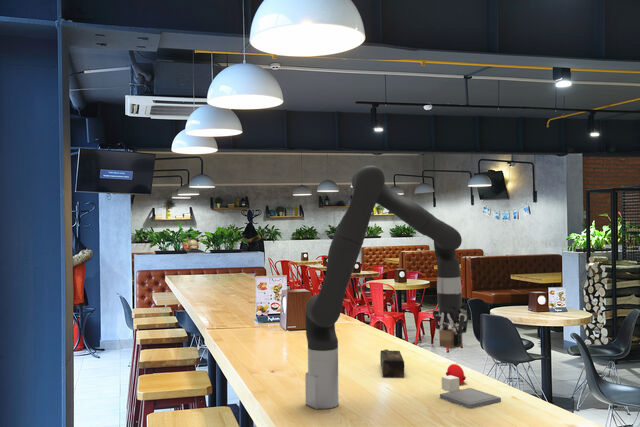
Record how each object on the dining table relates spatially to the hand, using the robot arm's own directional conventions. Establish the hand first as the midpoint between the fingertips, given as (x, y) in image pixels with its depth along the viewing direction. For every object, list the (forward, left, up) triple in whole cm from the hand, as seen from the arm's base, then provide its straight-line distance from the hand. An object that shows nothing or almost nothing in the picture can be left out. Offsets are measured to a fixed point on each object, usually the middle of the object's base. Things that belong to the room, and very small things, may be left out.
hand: (451, 344), depth 191 cm
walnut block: (0, 0, 0) cm, 0 cm away
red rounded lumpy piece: (+12, +11, -17) cm, 24 cm away
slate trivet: (+2, -6, -16) cm, 17 cm away
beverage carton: (+4, +36, -17) cm, 40 cm away
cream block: (+5, +6, -16) cm, 18 cm away
